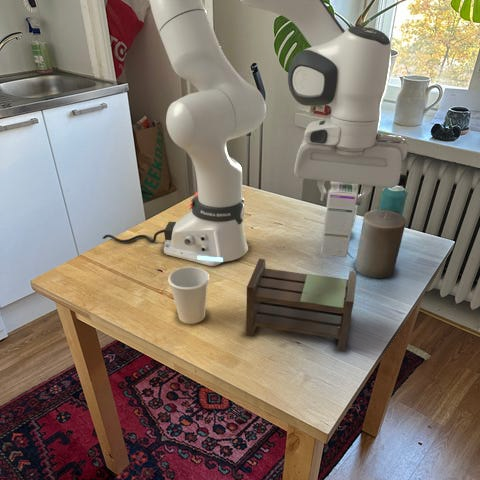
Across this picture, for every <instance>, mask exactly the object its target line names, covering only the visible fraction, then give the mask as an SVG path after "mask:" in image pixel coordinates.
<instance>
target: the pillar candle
mask: <svg viewBox="0 0 480 480" xmlns="http://www.w3.org/2000/svg"><path fill="white" fill-rule="evenodd" d="M406 223H407V220H406V218H405V216H403V214H402V215H401V214H399V213H396V212H393V211H387V210H378V209H374V210H369V211H368V212H365V214H364V215H363V220H362V224H361V225H362V226H361V231H360V237H359V241H358V247H357V252H356V258H355V264H354V266H355V271H357V273H359V274H360V275H362V276H364V277H366V278H367V277H368V278H371V279H386V278H389V277H391V276H392V275H394V273H395V267H396V264H397V260H398V256H399V252H400V248H401V244H402V240H403V236H404V232H405V228H406Z"/></svg>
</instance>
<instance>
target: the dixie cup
mask: <svg viewBox="0 0 480 480" xmlns="http://www.w3.org/2000/svg"><path fill="white" fill-rule="evenodd" d="M167 281H168V283H169V285H170V289H171V293H172V296H173V300H174V304H175V307H176V311H177V315H178V319H179V320H180V322H182V323H185V324H190V325H192V324H193V325H194V324H198V323H200V322H202V321H203V320H204V319H205V317H206V307H207V296H208V286H209V285H208V284H209V281H210V275H209V273H208V271H206V270H205V269H203V268H201V267H197V266H182V267H180V268H177V269H174V270H173V271H172V272H171V273H170V274H169V275H168V278H167Z"/></svg>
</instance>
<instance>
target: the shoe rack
mask: <svg viewBox="0 0 480 480" xmlns="http://www.w3.org/2000/svg"><path fill="white" fill-rule="evenodd" d="M266 261H267V260H266V259H264V258H258V260H257V262H256V265H255V267H254V269H253V272H252V273H251V276H250V278H249V281H248V283H247V285H246V310H245V311H246V313H245V315H246V317H245V318H246V319H245V320H246V321H245V336H248V337H254V334H255V331H256V328H257V327H263V328H269V329H274V330H282V331H288V332H294V333H301V334H307V335H311V336H312V335H314V336H319V337H325V338H332V339H338V341H337V349H336V350H337V351H339V352H345V350H346V346H347V345H346V344H347V340H348V335H349V330H350V324H351V319H352V315H353V308H354V303H355V296H356V295H355V294H356V284H357V275H358V271H357V270H349V273H348V279H347V278H344V277H343V278H342V277H336V276H335V277H334V276H328V275H319V274H312V273H303V272H294V271H288V270H287V271H286V270H281V269H273V268H266Z"/></svg>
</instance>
